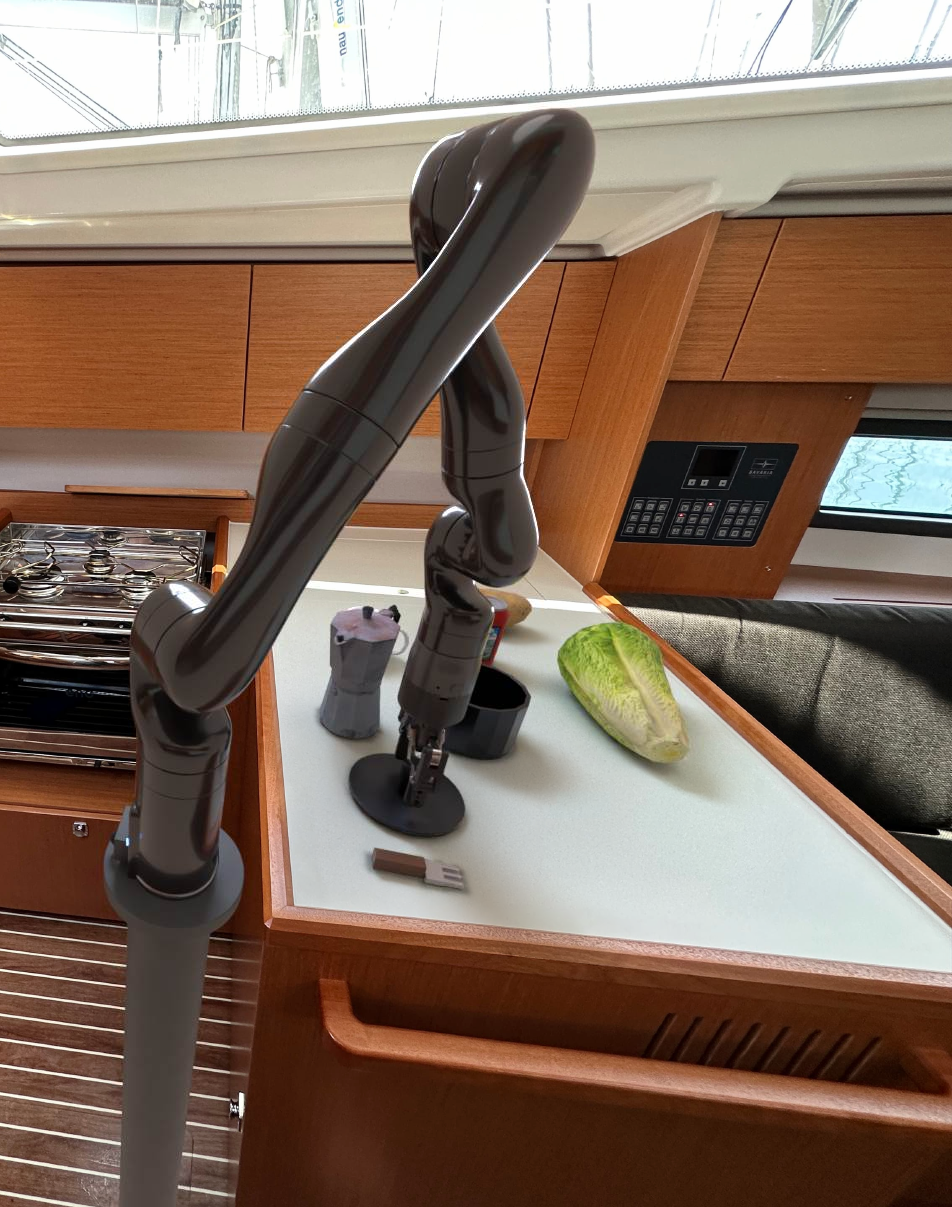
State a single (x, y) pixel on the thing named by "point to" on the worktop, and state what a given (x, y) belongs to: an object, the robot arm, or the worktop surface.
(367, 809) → the pot lid
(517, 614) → the potato
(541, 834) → the worktop surface
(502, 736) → the pot
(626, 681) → the lettuce
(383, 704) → the worktop surface
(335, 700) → the moka pot
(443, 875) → the fork
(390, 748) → the worktop surface
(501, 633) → the beverage can
